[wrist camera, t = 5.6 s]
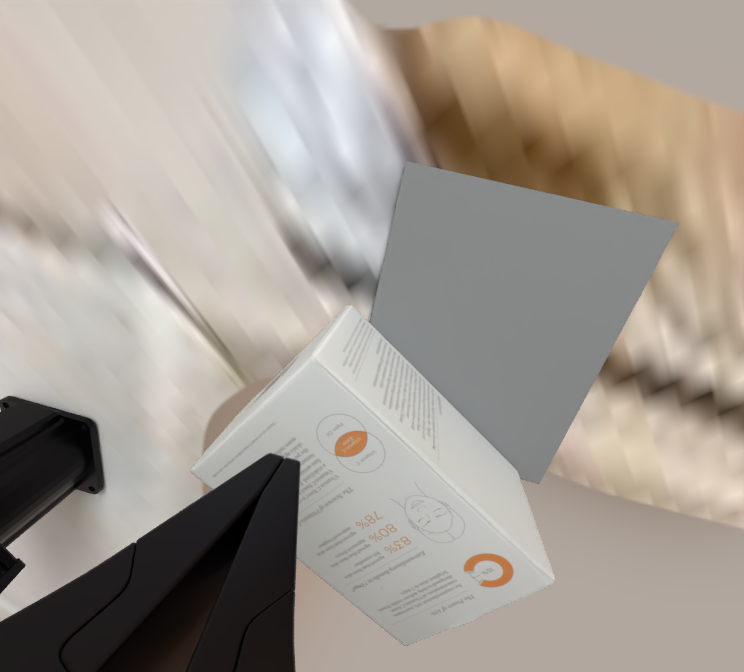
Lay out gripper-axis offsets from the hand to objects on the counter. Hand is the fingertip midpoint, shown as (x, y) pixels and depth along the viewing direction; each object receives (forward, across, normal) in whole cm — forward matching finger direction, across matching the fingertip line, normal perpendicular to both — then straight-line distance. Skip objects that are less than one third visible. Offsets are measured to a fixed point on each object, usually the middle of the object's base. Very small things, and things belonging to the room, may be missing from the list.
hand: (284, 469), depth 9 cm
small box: (+6, +3, +2) cm, 7 cm away
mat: (+10, -6, -1) cm, 12 cm away
